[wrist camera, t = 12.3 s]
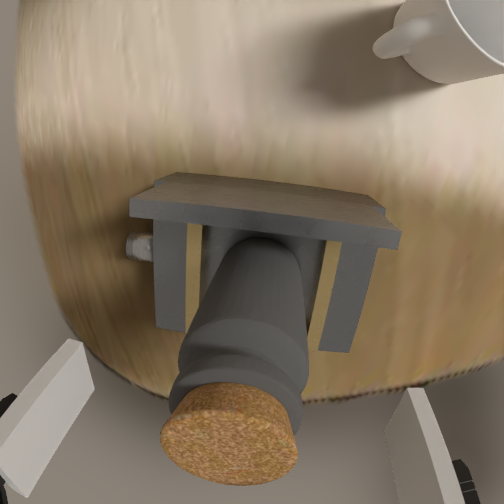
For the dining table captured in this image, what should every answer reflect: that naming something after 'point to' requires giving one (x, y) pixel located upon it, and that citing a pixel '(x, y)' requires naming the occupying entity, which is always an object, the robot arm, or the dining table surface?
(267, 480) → the bottle
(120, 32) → the dining table surface
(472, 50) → the mug
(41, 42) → the dining table surface
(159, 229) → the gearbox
